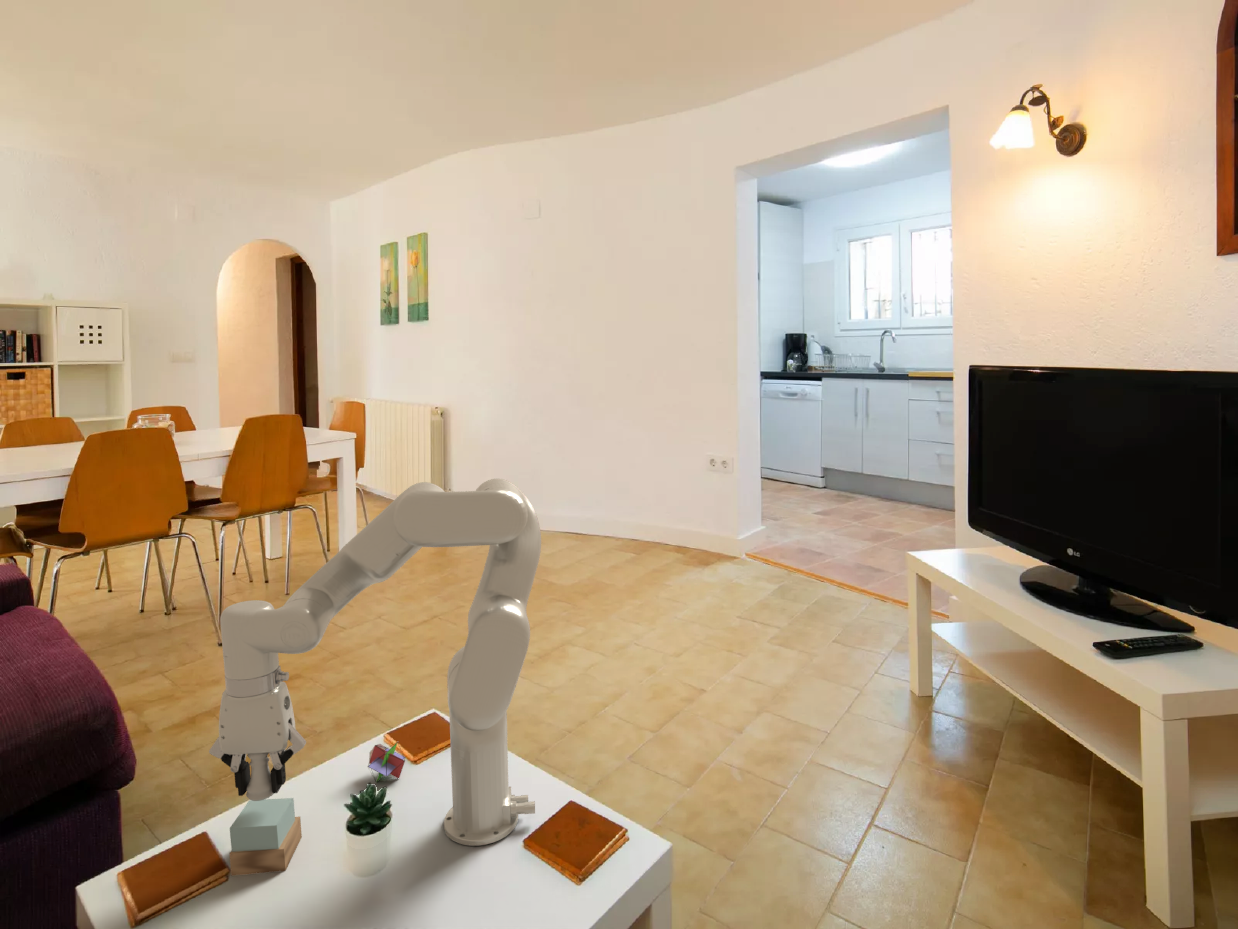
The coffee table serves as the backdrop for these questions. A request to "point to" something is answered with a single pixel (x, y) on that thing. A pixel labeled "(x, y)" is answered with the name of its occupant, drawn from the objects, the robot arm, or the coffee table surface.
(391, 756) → the geometric puzzle
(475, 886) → the coffee table surface
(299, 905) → the coffee table surface
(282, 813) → the tower top
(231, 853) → the tower base
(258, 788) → the rook chess piece
